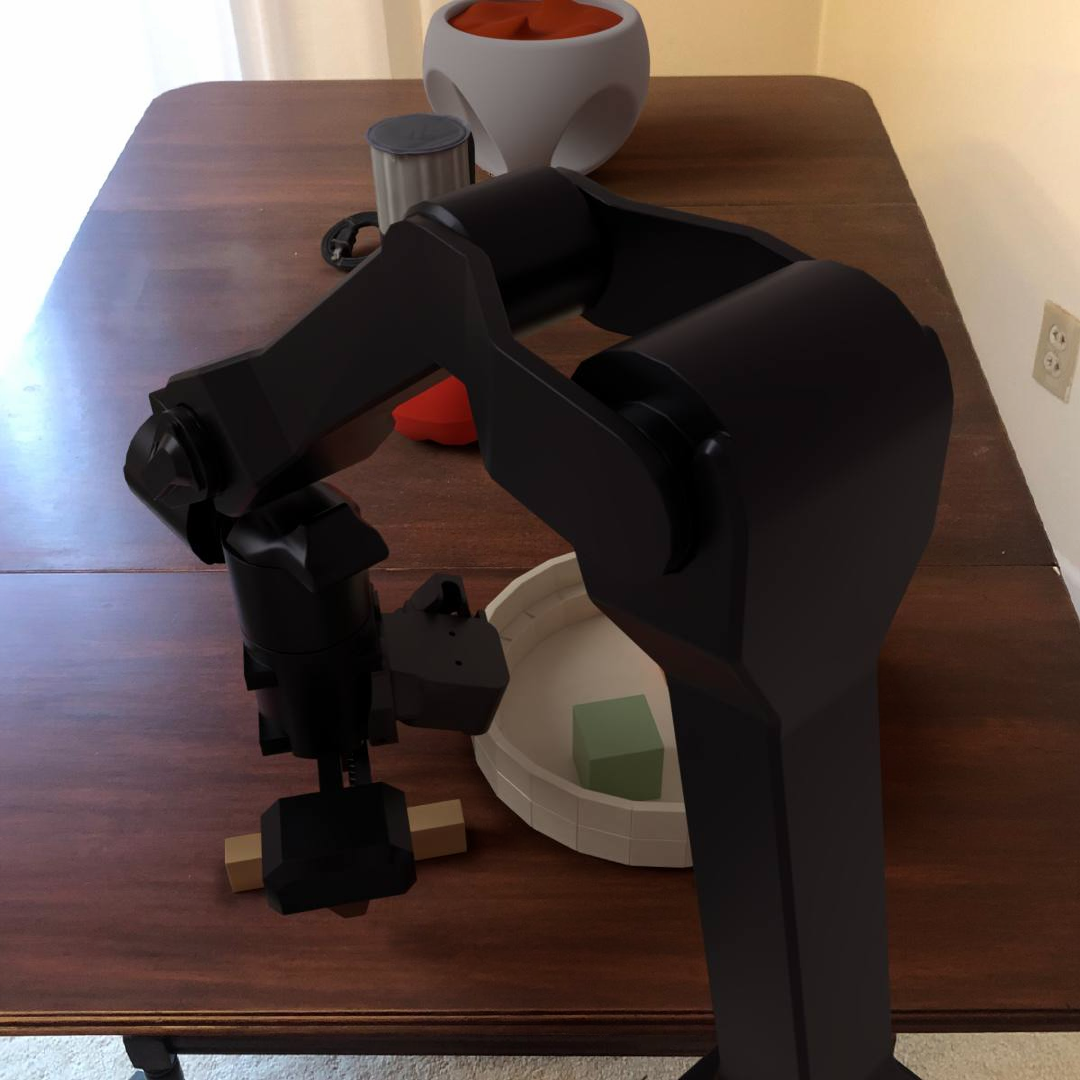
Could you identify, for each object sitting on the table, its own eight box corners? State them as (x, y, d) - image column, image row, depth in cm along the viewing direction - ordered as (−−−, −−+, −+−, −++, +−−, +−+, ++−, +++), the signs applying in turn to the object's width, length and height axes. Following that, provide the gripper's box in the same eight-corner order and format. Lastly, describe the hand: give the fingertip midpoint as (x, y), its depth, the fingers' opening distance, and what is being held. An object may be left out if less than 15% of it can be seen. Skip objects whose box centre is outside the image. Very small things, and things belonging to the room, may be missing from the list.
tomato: (491, 473, 90) (487, 386, 86) (357, 449, 93) (346, 363, 89) (537, 400, 98) (536, 317, 94) (412, 380, 101) (405, 298, 97)
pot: (653, 137, 144) (660, -25, 133) (636, 221, 125) (642, 41, 114) (454, 130, 147) (444, -29, 136) (408, 210, 128) (393, 34, 117)
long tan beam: (467, 851, 64) (464, 822, 62) (233, 893, 62) (224, 863, 60) (462, 827, 65) (459, 798, 63) (233, 867, 63) (224, 838, 62)
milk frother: (475, 311, 111) (466, 150, 101) (302, 309, 111) (278, 149, 102) (487, 243, 122) (480, 93, 113) (330, 243, 122) (311, 93, 113)
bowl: (903, 835, 64) (920, 771, 61) (506, 908, 61) (503, 844, 58) (765, 580, 80) (773, 520, 77) (446, 627, 77) (441, 566, 74)
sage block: (661, 798, 65) (664, 747, 63) (588, 811, 65) (589, 760, 62) (641, 743, 69) (644, 693, 66) (572, 755, 68) (572, 704, 66)
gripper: (532, 737, 47) (538, 968, 56) (458, 464, 61) (474, 686, 71) (235, 785, 45) (294, 1015, 55) (232, 493, 59) (279, 716, 69)
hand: (347, 838), depth 62 cm, fingers open, 9 cm apart
